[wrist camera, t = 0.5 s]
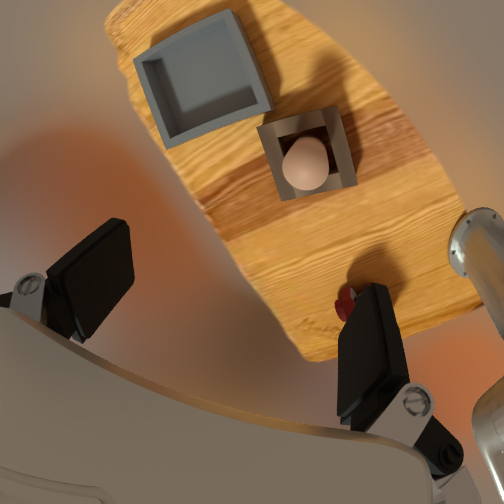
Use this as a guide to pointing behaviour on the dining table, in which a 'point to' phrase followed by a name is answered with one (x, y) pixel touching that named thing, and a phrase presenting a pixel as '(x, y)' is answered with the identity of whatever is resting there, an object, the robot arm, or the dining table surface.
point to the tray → (203, 79)
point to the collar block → (277, 129)
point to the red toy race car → (347, 302)
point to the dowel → (306, 163)
